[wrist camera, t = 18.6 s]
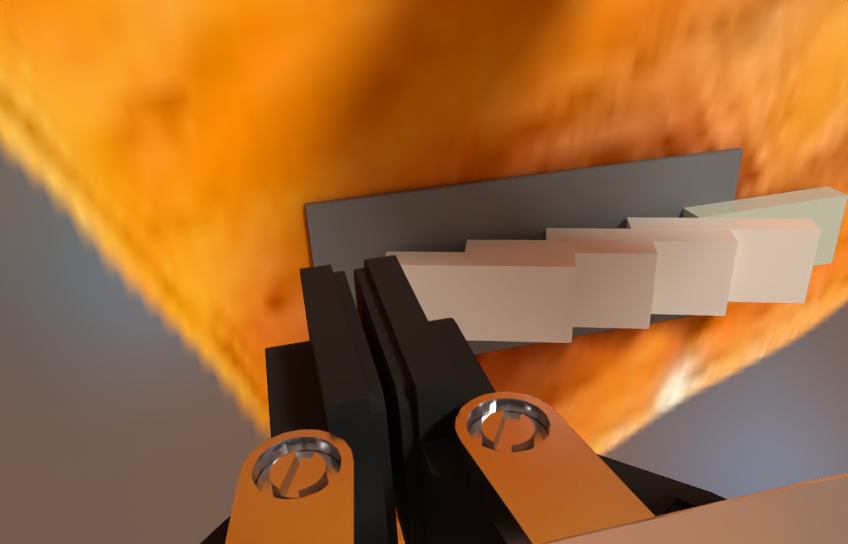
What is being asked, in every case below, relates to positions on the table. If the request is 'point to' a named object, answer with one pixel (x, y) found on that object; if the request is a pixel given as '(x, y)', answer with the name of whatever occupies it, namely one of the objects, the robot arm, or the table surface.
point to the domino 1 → (496, 292)
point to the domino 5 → (787, 213)
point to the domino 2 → (598, 277)
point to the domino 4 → (759, 254)
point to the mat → (516, 212)
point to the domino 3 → (678, 265)
